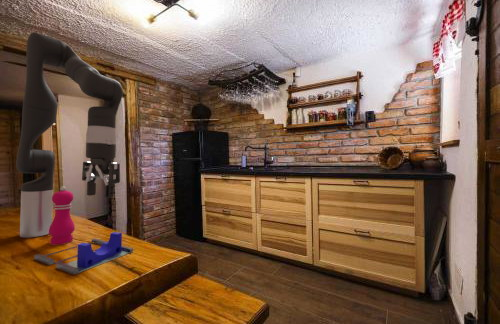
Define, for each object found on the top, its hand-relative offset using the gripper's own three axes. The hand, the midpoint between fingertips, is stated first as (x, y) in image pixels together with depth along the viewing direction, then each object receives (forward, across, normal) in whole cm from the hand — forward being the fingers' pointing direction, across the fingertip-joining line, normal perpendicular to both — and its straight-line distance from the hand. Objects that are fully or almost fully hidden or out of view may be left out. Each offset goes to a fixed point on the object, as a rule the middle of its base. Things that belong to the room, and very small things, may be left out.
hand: (99, 196), depth 68 cm
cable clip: (+19, 0, 0) cm, 19 cm away
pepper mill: (+19, -26, +3) cm, 32 cm away
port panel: (+19, -6, 0) cm, 20 cm away
